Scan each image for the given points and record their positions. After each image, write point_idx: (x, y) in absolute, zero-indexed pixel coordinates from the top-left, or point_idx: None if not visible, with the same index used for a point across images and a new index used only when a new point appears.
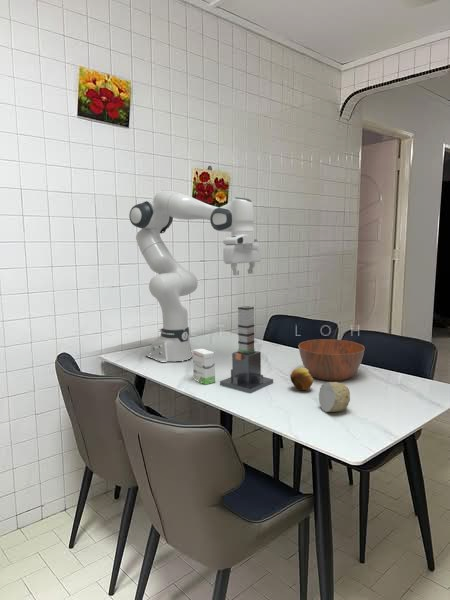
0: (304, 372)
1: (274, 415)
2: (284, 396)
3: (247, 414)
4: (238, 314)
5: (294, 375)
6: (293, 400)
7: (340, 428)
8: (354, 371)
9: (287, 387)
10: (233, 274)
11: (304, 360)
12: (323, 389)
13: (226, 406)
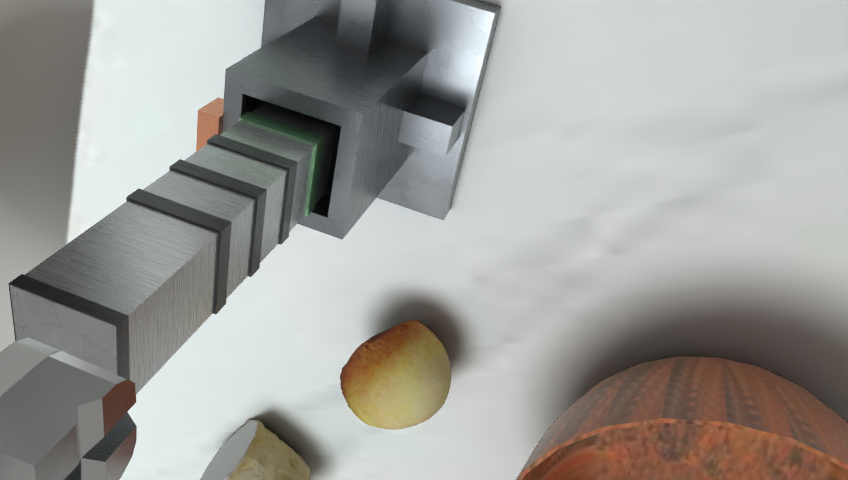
0: (357, 416)
1: None
2: (306, 289)
3: (80, 202)
4: (62, 249)
5: (345, 366)
6: (285, 326)
7: (164, 459)
8: None
9: (418, 283)
10: (20, 351)
11: (581, 404)
12: (227, 473)
13: (86, 101)
